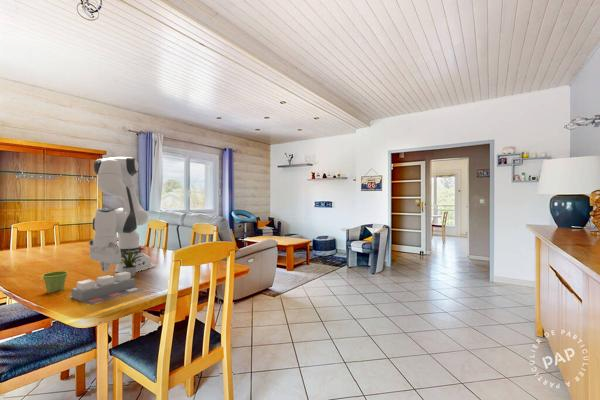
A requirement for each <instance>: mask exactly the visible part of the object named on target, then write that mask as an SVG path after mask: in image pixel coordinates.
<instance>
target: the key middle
mask: <svg viewBox="0 0 600 400" xmlns="http://www.w3.org/2000/svg"><path fill="white" fill-rule="evenodd" d="M114 279H115V276H113V275H109V274H106V275H103V276H98V277H96V283H97V285H100V286H105V285H109V284H113V283H114Z"/></svg>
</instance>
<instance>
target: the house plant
mask: <svg viewBox="0 0 600 400" xmlns="http://www.w3.org/2000/svg"><path fill="white" fill-rule="evenodd" d="M135 251H136V250H135ZM135 251H134V252H135ZM134 252H133V253H131V250H130V251H128V257H126V256H127V255H126V256H125V254H123V252H122V254H123V255H122V254H121V257H122V256H123V257H122V258H123V259H124V260H125V261H124V260H122V259H121V261H123V262H120V263H125V265H126V266H123V267H122V269H123V272H129V273H131V277H134V276H135V275H136V273H137V272H136V267H137V266H136V265H133V264H134V263H135V264H136V262H137V261H136V259H137V258H139V257H142V256H138V257H136V258H135V256H136V255H137V254H138V253H139V252H140V251H139V252H138V253H136V254H135V255H134V257H133V258H132V256H133V254H134ZM139 255H140V253H139ZM127 259H128V260H127ZM131 259H132V260H131ZM137 260H138V261H141V259H137ZM120 265H121V264H120Z"/></svg>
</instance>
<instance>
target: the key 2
mask: <svg viewBox="0 0 600 400" xmlns="http://www.w3.org/2000/svg"><path fill="white" fill-rule="evenodd" d="M131 278H132V276H131V273H129V272H115V273H114V279H115V280H116V281H119V282H121V281H125V280H129V279H131Z"/></svg>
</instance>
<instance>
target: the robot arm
mask: <svg viewBox="0 0 600 400" xmlns="http://www.w3.org/2000/svg"><path fill="white" fill-rule="evenodd" d="M93 171H94V173H95V174H96V176H97V187H98V188H99V190H100V191H101V192H102V193H104V194H106V195H109V196H112V197H114V198H115V200H116V202H117V203H118V204H119V205H120V207H118V208H114V207H106V206H105V207H99V208H97V209H96V211H95V216H94V218H92V230H94V231H95V233H94V235H93V236H94V237H93V238H92V239H90V240H89V241H88V244H89V257H90V259H91V260H92V261H97V262H99V265H100V267H101V271H102V272H109V271H110V267H111V265H116V267H115V270H114V272H115V273H120V272H123V269H122V267H123V266H126V265H125V263H120V262H123V261H121V259H122V260H124V259H123V258H122V257H123V256H122V257H121V254H122V252H123V254H125V256H126V255H127V256H126V257H128V251H130V250H131V253H133V252H134V251H135V250H136V251H135V252H134V254H133V256H132V258H133V257H134V255H135V254H136V253H138V252H139V251H140V252H139V253H140V255H139V253H138V254H137V255H136V256H135V258H136V257H138V256H142V257H139V258H137V259H141V261H138V260H137V259H136V261H137V262H136V264H135V263H134V264H133V265H136V266H137V267H136V272H135V273H137V272H138V271H139V272H141V270H142V271H145V270H149V269H152V268H155V267H156V264H155V263H152V259H151V257H150V256H149V255H147V254H145V253H144V252H142V251H145V250H146V248H145V247H144V246H140V234H139V232H137V228H138V227H139V226H143V225H145V224H146V223H147V222H148V221H149V215H148V213H147V211H146V210H145V209H144V208H143V207H142V205H141V204H140V201H139V199H138V196H137V192H136V187H135V186H136V185H135V181H134V175H137V173H138V172H139V163H138V161H137V159H136V158H135V157H133V156H132V157H131V156H127V157H126V156H114V157H107V158H99V159H98V158H97V159H96V160H95V161H94V162H93ZM123 254H122V255H123ZM127 260H128V259H127ZM131 260H132V259H131ZM124 261H125V260H124ZM120 264H121V265H120ZM148 268H149V269H148Z"/></svg>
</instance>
